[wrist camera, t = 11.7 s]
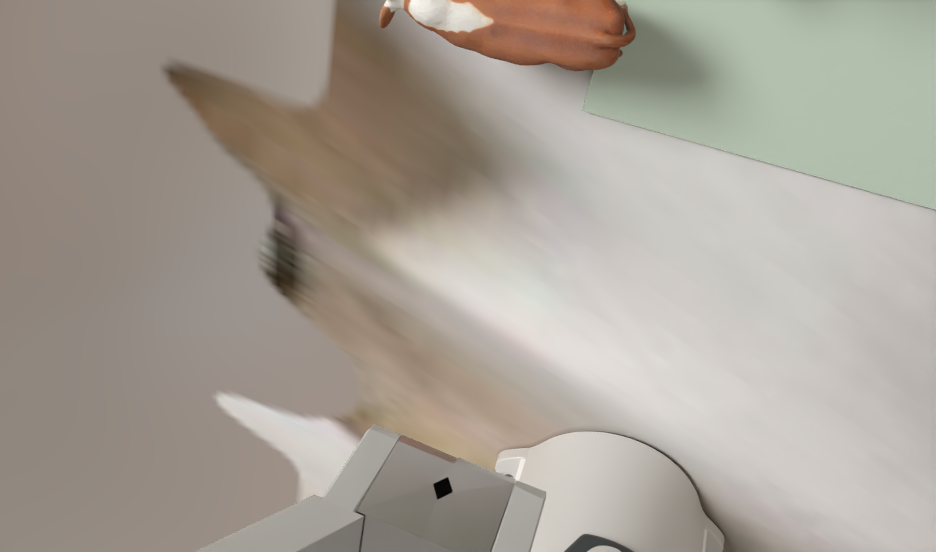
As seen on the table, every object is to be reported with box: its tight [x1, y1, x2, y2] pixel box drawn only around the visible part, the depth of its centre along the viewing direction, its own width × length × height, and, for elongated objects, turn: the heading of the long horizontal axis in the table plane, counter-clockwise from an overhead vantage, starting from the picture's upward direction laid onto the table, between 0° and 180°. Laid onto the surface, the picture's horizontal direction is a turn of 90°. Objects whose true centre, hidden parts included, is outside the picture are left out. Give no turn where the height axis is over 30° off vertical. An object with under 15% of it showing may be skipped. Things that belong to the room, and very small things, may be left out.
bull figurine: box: [379, 0, 636, 71], centre depth 33 cm, size 4×13×8 cm, turn 77°
